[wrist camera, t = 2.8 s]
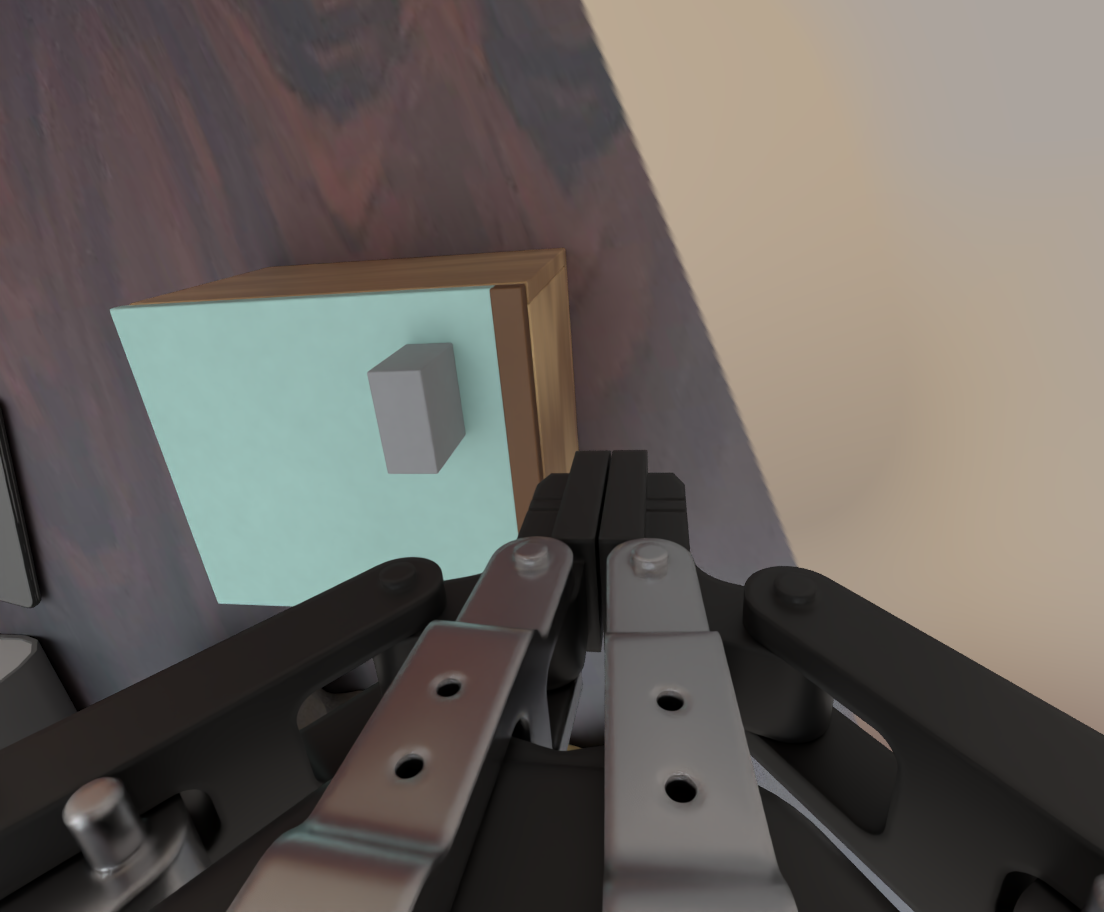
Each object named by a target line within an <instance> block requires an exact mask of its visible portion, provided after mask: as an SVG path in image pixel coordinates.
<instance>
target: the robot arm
mask: <svg viewBox="0 0 1104 912" xmlns="http://www.w3.org/2000/svg"><path fill="white" fill-rule="evenodd" d="M532 498H533V499H532V500H531V503H530V505H529V508H528V509H529V510H528V511H527V513H526V516H525V518H524V521H523V524H522V526H521V529H520V532H519V534H518V537H517V539H516V540H513V541H510V542H508V543H506V544H504V545H502V546H501V547H500V548H498V549H497V550H496V551H495V552H494V554H493V555H492V556H491V558H490V560H489V562H488V564H487V565H486V567H485V569H484V571H483V573H480V574H476V575H472V576H467V577H461V578H456V579H450V580H443V575H442V570H441V568H440V566H439V565H438V564H437V563H435V562H434V561H432V560H429V559H426V558H421V557H404V558H398V559H393V560H390V561H387V562H384V563H382V564H379V565H377V566H375V567H373V568H371V569H369V570H367V571H365V572H363V573H361V574H359V575H357V576H355V577H353V578H351V579H349V580H346V581H344V582H342V583H340V584H338V585H336V586H334V587H332V588H330V589H328V590H326V591H324V592H322V593H320V594H318V595H316V596H314V597H312V598H310V599H308V600H306V601H304V602H301V603H299V604H297V605H295V606H293V607H291V608H289V609H287V610H285V611H283V612H281V613H279V614H277V615H275V616H273V617H271V618H269V619H267V620H265V621H263V622H261V623H259V624H257V625H254V626H252V627H250V628H248V629H246V630H244V631H242V632H240V633H238V634H236V635H234V636H232V637H230V638H228V639H226V640H224V641H222V642H220V643H218V644H216V645H214V646H212V647H209V648H207V649H205V650H203V651H201V652H199V653H197V654H195V655H193V656H191V657H189V658H187V659H185V660H183V661H181V662H179V663H177V664H175V665H173V666H171V667H169V668H167V669H164V670H162V671H160V672H158V673H156V674H154V675H152V676H150V677H148V678H146V679H144V680H142V681H140V682H138V683H136V684H134V685H132V686H130V687H128V688H126V689H124V690H122V691H119V692H117V693H115V694H113V695H111V696H109V697H107V698H105V699H103V700H101V701H99V702H97V703H95V704H93V705H91V706H89V707H87V708H85V709H83V710H81V711H79V712H77V713H75V714H72V715H70V716H68V717H66V718H64V719H62V720H60V721H58V722H56V723H54V724H52V725H50V726H48V727H46V728H44V729H42V730H40V731H38V732H36V733H34V734H32V735H30V736H27V737H25V738H23V739H21V740H19V741H17V742H15V743H13V744H11V745H9V746H7V747H5V748H3V749H1V750H0V912H900V911H899V910H898V909H897V908H896V907H895V906H894V905H893V904H892V903H891V902H890V901H889V900H888V899H887V898H886V897H885V896H884V895H883V894H882V893H881V892H880V891H879V890H878V889H877V888H876V887H875V886H874V885H873V884H872V883H871V882H870V881H869V879H868V878H867V877H866V876H865V875H864V874H863V873H862V872H861V871H860V870H859V869H858V868H857V867H856V866H855V865H854V864H853V863H852V862H851V861H850V860H849V859H848V858H847V857H846V856H845V855H844V854H843V853H842V852H841V851H840V850H839V849H838V848H837V847H836V846H835V845H834V844H833V843H832V842H831V841H830V840H829V838H828V837H827V836H826V835H825V834H824V833H823V832H822V831H821V830H820V829H819V828H817V827H816V826H815V825H814V824H813V823H812V822H811V821H810V820H809V819H808V818H806V817H805V816H804V815H803V814H802V813H800V812H799V811H798V810H797V809H795V808H794V807H793V806H791V805H790V804H788V803H787V802H785V801H784V800H783V799H781V798H780V797H778V796H777V795H775V794H773V793H771V792H770V791H768V790H766V789H764V788H762V787H760V786H759V785H757V780H756V776H755V772H754V768H753V764H752V760H751V756H752V757H753V758H754V759H756V760H757V761H758V762H759V763H760V764H761V765H762V766H763V767H764V768H765V769H766V770H767V771H768V772H769V773H770V774H771V775H772V776H773V777H774V778H775V779H776V780H777V781H778V782H780V783H781V784H782V785H783V786H784V787H785V788H786V789H787V790H788V791H789V792H790V793H791V794H792V795H793V796H794V797H795V798H796V799H797V800H798V801H799V802H800V803H801V804H803V805H804V806H805V807H806V808H807V809H808V810H809V811H810V812H811V813H812V814H813V815H814V816H815V817H816V818H817V819H818V820H819V821H820V822H821V823H822V824H823V825H824V826H826V827H827V828H828V829H829V830H830V831H831V832H832V833H833V834H834V835H835V836H836V837H837V838H838V839H839V840H840V841H841V842H842V843H843V844H844V845H845V846H846V847H847V848H848V849H850V850H851V851H852V852H853V853H854V854H855V855H856V856H857V857H858V858H859V859H860V860H861V861H862V862H863V863H864V864H865V865H866V866H867V867H868V868H869V869H870V870H871V871H873V872H874V873H875V874H876V875H877V876H878V877H879V878H880V879H881V880H882V881H883V882H884V883H885V884H886V885H887V886H888V887H889V888H890V889H891V890H892V891H893V892H894V893H896V894H897V895H898V896H899V897H900V898H901V899H902V900H903V901H904V902H905V903H906V904H907V905H908V906H909V907H910V908H911V909H912V910H913V911H914V912H1104V735H1103V734H1101V733H1099V732H1097V731H1096V730H1094V729H1092V728H1091V727H1089V726H1087V725H1085V724H1083V723H1082V722H1080V721H1078V720H1076V719H1075V718H1073V717H1071V716H1069V715H1068V714H1066V713H1064V712H1062V711H1061V710H1059V709H1057V708H1055V707H1054V706H1052V705H1050V704H1048V703H1047V702H1045V701H1043V700H1041V699H1040V698H1038V697H1036V696H1034V695H1033V694H1031V693H1029V692H1027V691H1026V690H1024V689H1022V688H1020V687H1019V686H1017V685H1015V684H1013V683H1012V682H1010V681H1008V680H1006V679H1004V678H1003V677H1001V676H999V675H998V674H996V673H994V672H992V671H991V670H989V669H987V668H985V667H984V666H982V665H980V664H978V663H977V662H975V661H973V660H971V659H969V658H968V657H966V656H964V655H963V654H961V653H959V652H957V651H956V650H954V649H952V648H950V647H949V646H947V645H945V644H943V643H941V642H940V641H938V640H936V639H934V638H933V637H931V636H929V635H927V634H926V633H924V632H922V631H920V630H919V629H917V628H915V627H913V626H912V625H910V624H908V623H906V622H905V621H903V620H901V619H899V618H897V617H896V616H894V615H892V614H891V613H889V612H887V611H885V610H884V609H882V608H880V607H878V606H876V605H875V604H873V603H871V602H870V601H868V600H866V599H864V598H863V597H861V596H859V595H857V594H856V593H854V592H852V591H850V590H849V589H847V588H845V587H843V586H842V585H840V584H838V583H836V582H835V581H833V580H831V579H829V578H827V577H826V576H823V575H822V574H819V573H817V572H814V571H811V570H807V569H804V568H798V567H790V566H777V567H770V568H765V569H762V570H760V571H757V572H756V573H754V574H752V575H751V576H750V577H749V578H748V579H747V581H746V583H745V586H741V585H736V584H732V583H728V582H725V581H721V580H719V579H716V578H714V577H712V576H710V575H708V574H706V573H705V572H703V571H702V570H701V569H699V568H698V567H697V566H696V565H695V563H694V560H693V557H692V555H691V554H690V545H689V533H688V521H687V509H686V497H685V485H684V483H683V482H682V481H681V480H680V479H679V478H678V477H677V476H676V475H675V474H674V473H648V452H647V450H613V452H612V458H611V451H576V452H575V455H574V459H573V462H572V466H571V469H570V473H551V474H550V475H548V476H547V477H546V478H545V479H543V480H542V481H541V482H540V483H539V484H537V487H536V489H535V492H534V495H533V497H532ZM603 630H604V648H605V745H603V746H596V747H589V748H582V749H575V750H568V751H567V748H568V744H569V740H570V736H571V732H572V728H573V724H574V720H575V716H576V712H577V708H578V703H579V699H580V695H581V691H582V685H583V682H582V669H583V666H584V662H585V655H586V651H589V652H601V647H602V639H603ZM371 658H373V661H374V665H375V669H376V673H377V677H378V681H379V682H377V683H376V684H374V685H373V686H371V687H369V688H368V689H366V690H364V691H363V692H361V693H360V694H358V695H356V696H355V697H353V698H351V699H350V700H348V701H347V702H345V703H343V704H342V705H340V706H338V707H337V708H335V709H333V710H332V711H330V712H329V713H327V714H325V715H324V716H322V717H320V718H319V719H317V720H316V721H314V722H312V723H311V724H309V725H307V726H306V727H304V728H302V729H300V730H299V729H298V726H297V714H298V711H299V709H300V707H301V705H302V704H303V702H304V701H305V700H306V699H307V698H308V697H309V696H310V695H311V694H312V693H314V692H315V691H317V690H318V689H320V688H322V687H324V686H325V685H327V684H329V683H330V682H332V681H334V680H336V679H337V678H339V677H341V676H342V675H344V674H346V673H348V672H349V671H351V670H353V669H354V668H356V667H358V666H359V665H361V664H363V663H365V662H366V661H368V660H370V659H371ZM833 699H835V700H837V701H838V702H839V703H841V704H842V705H843V706H845V707H846V708H847V709H849V710H850V711H851V712H853V713H854V714H855V715H857V716H858V717H859V718H861V719H862V720H863V721H865V722H866V723H867V724H869V725H870V726H872V727H873V728H874V729H875V730H876V731H878V732H879V733H880V734H881V735H882V736H883V738H884V739H885V740H886V741H887V743H888V744H889V746H890V747H891V749H892V751H893V752H892V751H890V750H889V749H888V748H887V747H885V746H884V745H882V744H881V743H880V742H879V741H877V740H876V739H875V738H873V737H872V736H871V735H869V734H868V733H867V732H865V731H864V730H863V729H862V728H860V727H859V726H858V725H856V724H855V723H854V722H852V721H851V720H850V719H849V718H847V717H846V716H845V715H843V714H842V713H841V712H839V711H838V710H837V709H835V708H834V707H833ZM750 755H751V756H750Z"/></svg>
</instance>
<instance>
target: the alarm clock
mask: <svg viewBox="0 0 1104 912" xmlns="http://www.w3.org/2000/svg"><path fill="white" fill-rule="evenodd" d="M75 713H77V711H76V709H75V707H74V705H73V703H72V701H71V700H70V698H69V696H68V694H67V692H66V691H65V689H64V687H63V685H62V683H61V681H60V680H59V678H58V676H57V674H56V672H55V671H54V669H53V667H52V665H51V663H50V661H49V660H48V658H47V656H46V654H45V652H44V650H43V649H42V647H41V645H40V643H39V641H38V640H37V639H34V638H32V637H29V636H26V635H6V634H0V750H1V749H3V748H5V747H7V746H9V745H11V744H13V743H15V742H17V741H19V740H21V739H23V738H25V737H27V736H30V735H32V734H34V733H36V732H38V731H40V730H42V729H44V728H46V727H48V726H50V725H52V724H54V723H56V722H58V721H60V720H62V719H64V718H66V717H68V716H70V715H72V714H75Z"/></svg>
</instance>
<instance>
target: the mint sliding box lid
mask: <svg viewBox="0 0 1104 912" xmlns="http://www.w3.org/2000/svg"><path fill="white" fill-rule="evenodd" d="M110 313H111V316H112V318H113V321H114V324H115V326H116V329H117V332H118V334H119V337H120V340H121V342H122V345H123V348H124V351H125V353H126V356H127V359H128V361H129V364H130V367H131V369H132V372H133V375H134V378H135V380H136V383H137V386H138V388H139V391H140V394H141V396H142V399H143V402H144V405H145V407H146V410H147V413H148V415H149V418H150V421H151V423H152V426H153V429H154V432H155V434H156V437H157V440H158V442H159V445H160V448H161V450H162V453H163V456H164V459H165V461H166V464H167V467H168V469H169V472H170V475H171V477H172V480H173V483H174V486H175V488H176V491H177V494H178V496H179V499H180V502H181V504H182V507H183V510H184V513H185V515H186V518H187V521H188V523H189V526H190V529H191V531H192V534H193V537H194V540H195V542H196V545H197V548H198V550H199V553H200V556H201V558H202V561H203V564H204V567H205V569H206V572H207V575H208V577H209V580H210V583H211V585H212V588H213V591H214V594H215V596H216V599H217V602H218V603H219V604H243V605H268V606H295V605H297V604H299V603H301V602H304V601H306V600H308V599H310V598H312V597H314V596H316V595H318V594H320V593H322V592H324V591H326V590H328V589H330V588H332V587H334V586H336V585H338V584H340V583H342V582H344V581H346V580H349V579H351V578H353V577H355V576H357V575H359V574H361V573H363V572H365V571H367V570H369V569H371V568H373V567H375V566H377V565H379V564H382V563H384V562H387V561H390V560H393V559H398V558H404V557H421V558H426V559H429V560H432V561H434V562H435V563H437V564H438V565H439V566H440V568H441V570H442V575H443V580H450V579H456V578H461V577H467V576H472V575H476V574H480V573H483V571H484V569H485V567H486V565H487V564H488V562H489V560H490V558H491V556H492V555H493V554H494V552H495V551H496V550H497V549H498V548H500V547H501V546H502V545H504V544H506V543H508V542H510V541H513V540H516V539H517V537H518V534H519V532H520V529H521V526H522V524H523V521H524V518H525V516H526V513H527V511H528V510H529V509H528V508H529V505H530V503H531V500H532V499H533V498H532V497H533V495H534V492H535V489H536V487H537V484H539V483H540V482H541V481H542V480H543V479H544V478H543V467H542V456H541V446H540V435H539V424H538V414H537V403H536V392H535V382H534V371H533V361H532V350H531V339H530V329H529V318H528V307H527V297H526V286H525V284H506V285H489V286H471V287H453V288H435V289H417V290H399V291H381V292H363V293H345V294H327V295H308V296H290V297H272V298H254V299H236V300H218V301H200V302H182V303H164V304H146V305H128V306H119V307H115V308H112V309H110Z"/></svg>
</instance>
